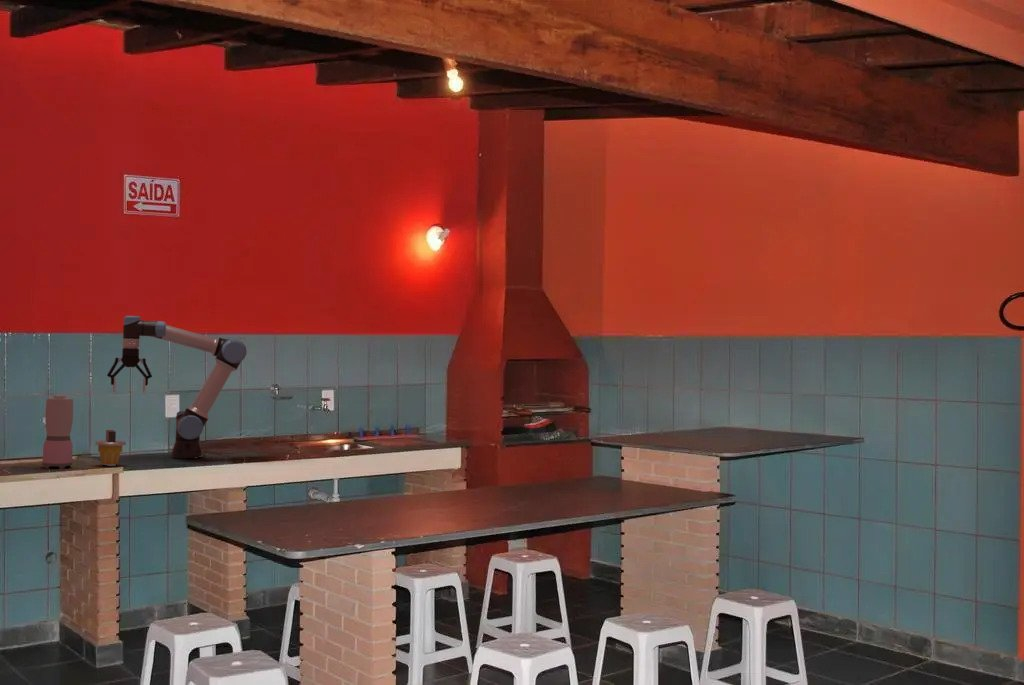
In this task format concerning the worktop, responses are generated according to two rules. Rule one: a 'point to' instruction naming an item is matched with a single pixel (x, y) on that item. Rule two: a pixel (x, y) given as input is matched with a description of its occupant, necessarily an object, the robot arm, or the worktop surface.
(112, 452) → the plant pot
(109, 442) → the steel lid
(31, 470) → the worktop surface
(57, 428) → the blender
